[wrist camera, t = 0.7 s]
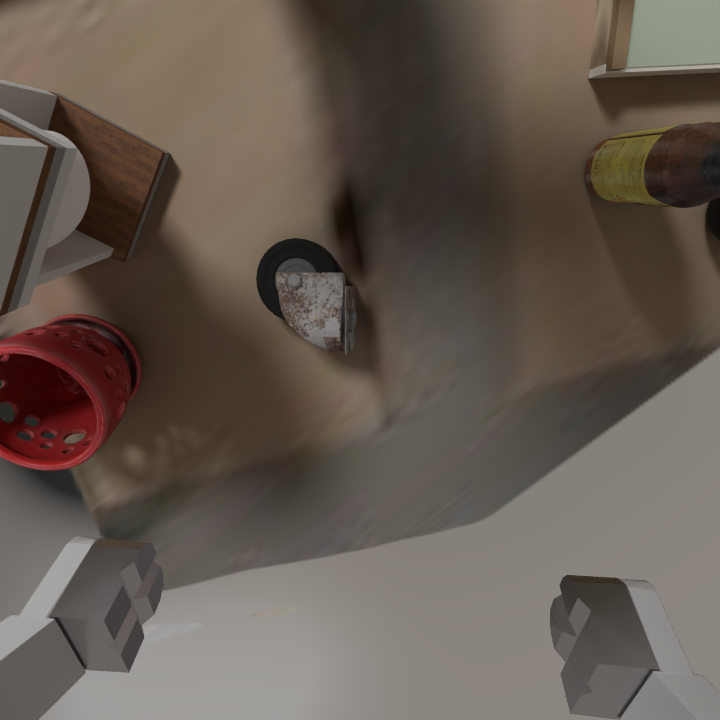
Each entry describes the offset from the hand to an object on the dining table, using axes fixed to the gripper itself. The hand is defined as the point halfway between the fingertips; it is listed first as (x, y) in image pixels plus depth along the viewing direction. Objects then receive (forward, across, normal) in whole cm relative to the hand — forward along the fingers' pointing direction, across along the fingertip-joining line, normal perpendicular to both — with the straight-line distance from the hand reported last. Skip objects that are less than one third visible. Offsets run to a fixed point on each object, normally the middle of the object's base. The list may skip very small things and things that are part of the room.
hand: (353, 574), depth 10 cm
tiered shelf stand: (+43, +29, +4) cm, 52 cm away
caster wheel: (+42, +8, +14) cm, 46 cm away
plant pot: (+38, +32, +23) cm, 55 cm away
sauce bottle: (+48, -22, +2) cm, 53 cm away
